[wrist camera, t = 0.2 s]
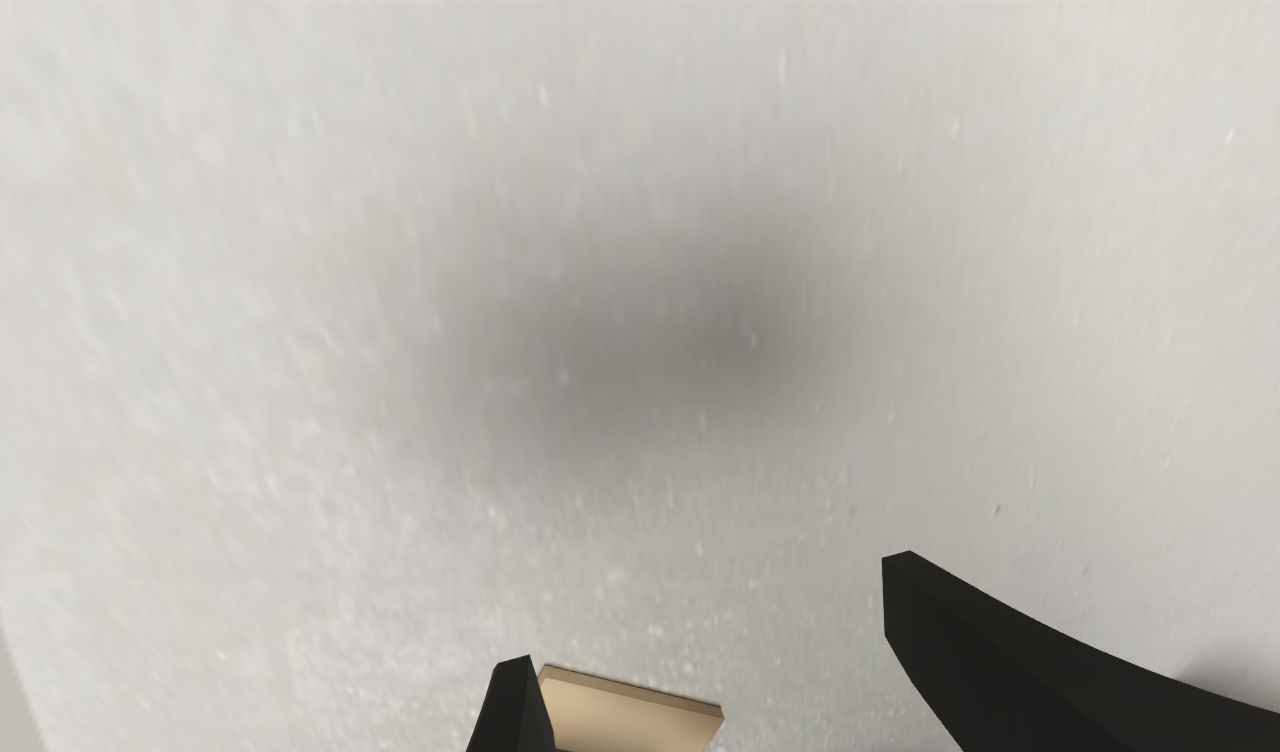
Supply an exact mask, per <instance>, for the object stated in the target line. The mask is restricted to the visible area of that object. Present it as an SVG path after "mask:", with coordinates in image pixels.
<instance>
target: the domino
mask: <svg viewBox="0 0 1280 752" xmlns="http://www.w3.org/2000/svg"><path fill="white" fill-rule="evenodd" d="M556 752H572V751H567V750H562V749H557V748H556Z"/></svg>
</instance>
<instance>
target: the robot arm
mask: <svg viewBox="0 0 1280 752" xmlns="http://www.w3.org/2000/svg"><path fill="white" fill-rule="evenodd" d="M882 578H883V604H884V630H885V637H886V639H887V641H888V642H889V644H890V646H891V648H892V649H893V651H894V653H895V655H896V656H897V658H898V660H899V662H900V663H901V665H902V667H903V668H904V670H905V672H906V673H907V675H908V677H909V678H910V680H911V682H912V683H913V685H914V686H915V687H916V689H917V690H918V691H919V693H920V694H921V696H922V697H923V698H924V700H925V701H926V702H927V704H928V705H929V706H930V708H931V709H932V710H933V712H934V713H935V714H936V716H937V717H938V718H939V720H940V721H941V722H942V724H943V725H944V726H945V728H946V729H947V730H948V732H949V733H950V734H951V736H952V737H953V738H954V740H955V741H956V742H957V744H958V745H959V746H960V748H961V749H962V750H963V752H1280V714H1279V713H1276V712H1272V711H1269V710H1265V709H1262V708H1259V707H1255V706H1252V705H1248V704H1245V703H1242V702H1239V701H1236V700H1233V699H1229V698H1226V697H1223V696H1220V695H1217V694H1214V693H1211V692H1208V691H1205V690H1202V689H1199V688H1197V687H1194V686H1191V685H1188V684H1185V683H1182V682H1179V681H1177V680H1174V679H1171V678H1168V677H1165V676H1163V675H1160V674H1157V673H1155V672H1152V671H1149V670H1147V669H1144V668H1142V667H1139V666H1137V665H1134V664H1132V663H1130V662H1127V661H1125V660H1122V659H1120V658H1117V657H1115V656H1113V655H1110V654H1108V653H1105V652H1103V651H1101V650H1098V649H1096V648H1094V647H1091V646H1089V645H1087V644H1085V643H1083V642H1080V641H1078V640H1076V639H1074V638H1072V637H1070V636H1068V635H1066V634H1064V633H1061V632H1059V631H1057V630H1055V629H1053V628H1051V627H1049V626H1047V625H1045V624H1043V623H1041V622H1039V621H1037V620H1035V619H1033V618H1031V617H1029V616H1027V615H1025V614H1023V613H1021V612H1019V611H1017V610H1016V609H1014V608H1012V607H1010V606H1008V605H1006V604H1004V603H1002V602H1001V601H999V600H997V599H995V598H993V597H991V596H990V595H988V594H986V593H984V592H982V591H981V590H979V589H977V588H975V587H974V586H972V585H970V584H968V583H966V582H965V581H963V580H961V579H959V578H958V577H956V576H954V575H952V574H951V573H949V572H947V571H946V570H944V569H942V568H940V567H939V566H937V565H935V564H933V563H932V562H930V561H928V560H926V559H925V558H923V557H921V556H919V555H917V554H916V553H914V552H912V551H910V550H909V551H905V552H902V553H898V554H895V555H891V556H887V557H884V558H882ZM466 752H556V748H555V739H554V731H553V728H552V724H551V721H550V718H549V715H548V712H547V708H546V705H545V702H544V699H543V696H542V693H541V689H540V686H539V683H538V680H537V677H536V673H535V670H534V667H533V664H532V661H531V657H530V654H529V655H526V656H522V657H519V658H515V659H511V660H508V661H504V662H500V663H498V664H497V665H496V667H495V668H494V669H493V673H492V677H491V680H490V684H489V687H488V690H487V694H486V697H485V700H484V703H483V706H482V709H481V712H480V715H479V717H478V720H477V723H476V726H475V729H474V732H473V734H472V737H471V739H470V742H469V744H468V747H467V750H466Z"/></svg>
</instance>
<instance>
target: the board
mask: <svg viewBox="0 0 1280 752" xmlns="http://www.w3.org/2000/svg"><path fill="white" fill-rule="evenodd" d="M537 680H538V683H539V686H540V689H541V693H542V696H543V699H544V702H545V705H546V708H547V712H548V715H549V718H550V721H551V724H552V728H553V731H554V739H555V748H557V749H562V750H567V751H572V752H704V751H705V749H706V748H707V746H708V745H709V743H710V741H711V740H712V738H713V737H714V735H715V734H716V732H717V731H718V729H719V728H720V726H721V724H722V723H723V721H724V720H725V719H724V716H723V713H722V711H721V708H720V707H716V706H712V705H708V704H704V703H700V702H695V701H691V700H687V699H683V698H679V697H675V696H671V695H666V694H662V693H658V692H654V691H650V690H646V689H641V688H637V687H633V686H629V685H625V684H621V683H616V682H612V681H608V680H604V679H600V678H596V677H592V676H587V675H583V674H579V673H575V672H571V671H567V670H562V669H558V668H554V667H550V666H546V665H545V666H544V668H543V670H542V672H541V674H540V676H539V678H538V679H537Z"/></svg>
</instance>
